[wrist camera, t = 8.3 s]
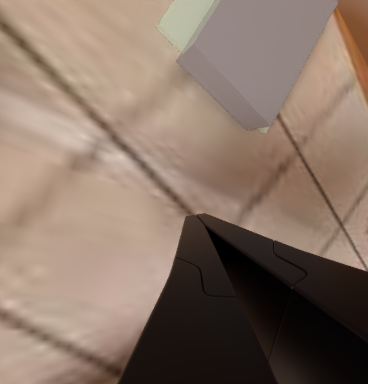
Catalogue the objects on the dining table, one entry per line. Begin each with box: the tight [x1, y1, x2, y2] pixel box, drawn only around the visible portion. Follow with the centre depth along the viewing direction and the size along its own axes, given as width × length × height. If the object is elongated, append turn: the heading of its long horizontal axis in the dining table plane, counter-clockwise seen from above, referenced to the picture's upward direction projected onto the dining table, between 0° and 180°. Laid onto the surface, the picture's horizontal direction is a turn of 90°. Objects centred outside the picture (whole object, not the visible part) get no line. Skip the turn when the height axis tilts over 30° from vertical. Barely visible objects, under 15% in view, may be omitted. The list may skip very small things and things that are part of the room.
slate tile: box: [176, 0, 338, 131], centre depth 20 cm, size 3×9×14 cm
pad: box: [156, 0, 270, 134], centre depth 22 cm, size 16×14×1 cm
